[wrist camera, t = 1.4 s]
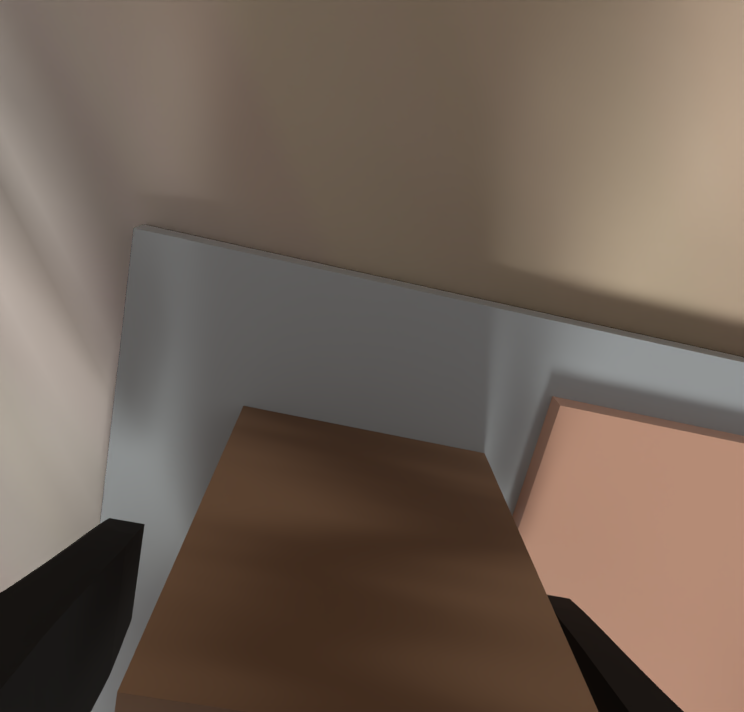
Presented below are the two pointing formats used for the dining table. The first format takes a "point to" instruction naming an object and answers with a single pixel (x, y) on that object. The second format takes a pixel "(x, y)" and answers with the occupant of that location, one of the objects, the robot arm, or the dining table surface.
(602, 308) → the dining table surface
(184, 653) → the walnut block
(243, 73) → the dining table surface
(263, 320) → the board
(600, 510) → the terracotta pad
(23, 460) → the dining table surface
